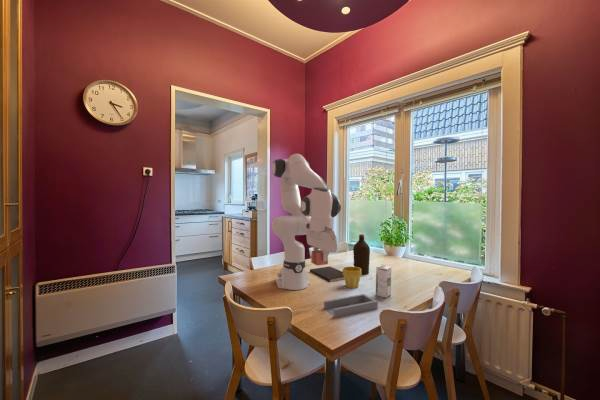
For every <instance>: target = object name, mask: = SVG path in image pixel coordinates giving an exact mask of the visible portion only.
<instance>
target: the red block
mask: <svg viewBox="0 0 600 400" xmlns="http://www.w3.org/2000/svg"><path fill="white" fill-rule="evenodd" d="M323 254H324V253H323V250H321V249H318V250H315V251H314V250H311V253H310V256H311V258H310V263H312V264H313V265H316V266H323V265H324V266H325V265H328V264H329V262H328V261H329V259H328V260H327V261H322V256H323Z"/></svg>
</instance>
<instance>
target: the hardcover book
mask: <svg viewBox="0 0 600 400" xmlns="http://www.w3.org/2000/svg"><path fill="white" fill-rule="evenodd" d="M311 272H312V274H313V273H314V275H315V276H317V277H319V278H321V279H323V280H325V281H327V282H329V283H332V282H337V281H343V280H345V278H344V275H343V270H340V269H337V268H335V267H332V266H324V267H323V266H322V267H317V268H310V269H309V273H311Z"/></svg>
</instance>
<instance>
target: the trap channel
mask: <svg viewBox="0 0 600 400" xmlns="http://www.w3.org/2000/svg"><path fill="white" fill-rule="evenodd" d="M378 307H379V306H378V301H377V300H375V299H374V298H372V297H371V296H368V295H366V294H365V293H361V294H356V295H350V296H349V295H348V296H345V297H339V298H333V299H329V300H324V301H323V308H324V310H325V311H327V312H328V313H329V314H331V315H332V316H333V317H334V318H336V319H337V318H340V317H345V316H349V315H353V314H359V313H363V312H368V311H371V310H373V311H374V310H377V309H378Z"/></svg>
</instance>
